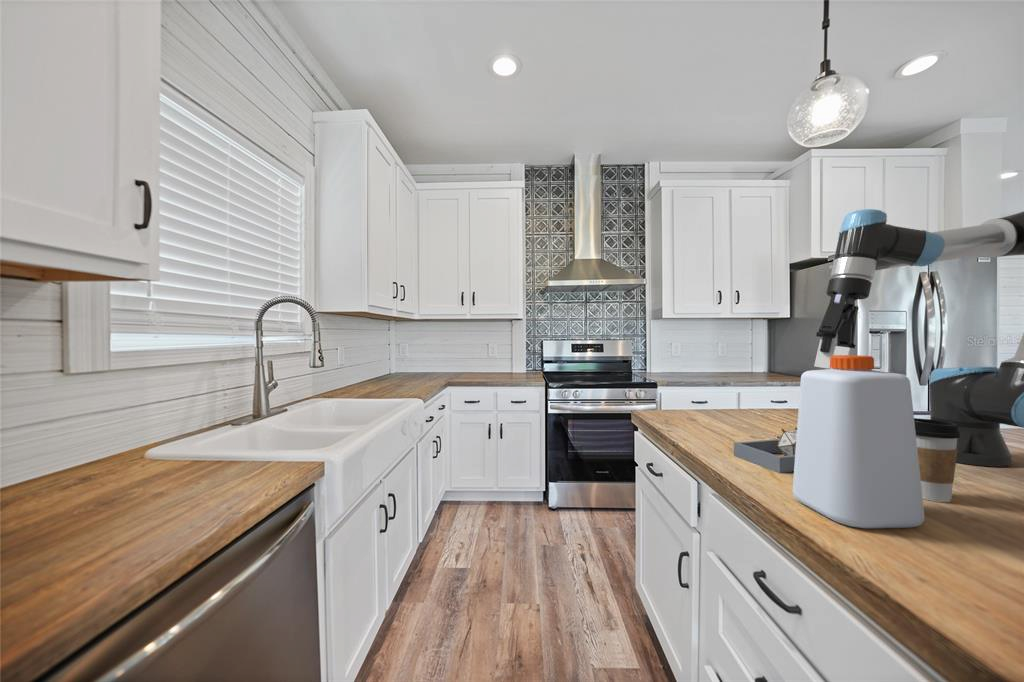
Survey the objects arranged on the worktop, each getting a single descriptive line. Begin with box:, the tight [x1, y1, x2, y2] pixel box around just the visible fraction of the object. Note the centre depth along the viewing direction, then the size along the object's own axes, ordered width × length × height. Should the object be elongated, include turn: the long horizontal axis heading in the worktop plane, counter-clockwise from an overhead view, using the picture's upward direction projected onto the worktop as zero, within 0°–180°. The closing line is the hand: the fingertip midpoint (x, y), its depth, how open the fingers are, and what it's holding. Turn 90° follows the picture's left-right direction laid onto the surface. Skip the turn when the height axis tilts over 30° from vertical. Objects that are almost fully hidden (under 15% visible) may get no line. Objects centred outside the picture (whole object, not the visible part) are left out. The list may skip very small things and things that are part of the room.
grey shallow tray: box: [733, 438, 795, 474], centre depth 100 cm, size 18×14×4 cm
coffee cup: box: [914, 417, 960, 503], centre depth 77 cm, size 8×8×15 cm
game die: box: [774, 426, 797, 456], centre depth 101 cm, size 9×8×10 cm
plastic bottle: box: [792, 354, 926, 529], centre depth 71 cm, size 15×15×28 cm
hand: (829, 370), depth 91 cm, fingers open, 13 cm apart
